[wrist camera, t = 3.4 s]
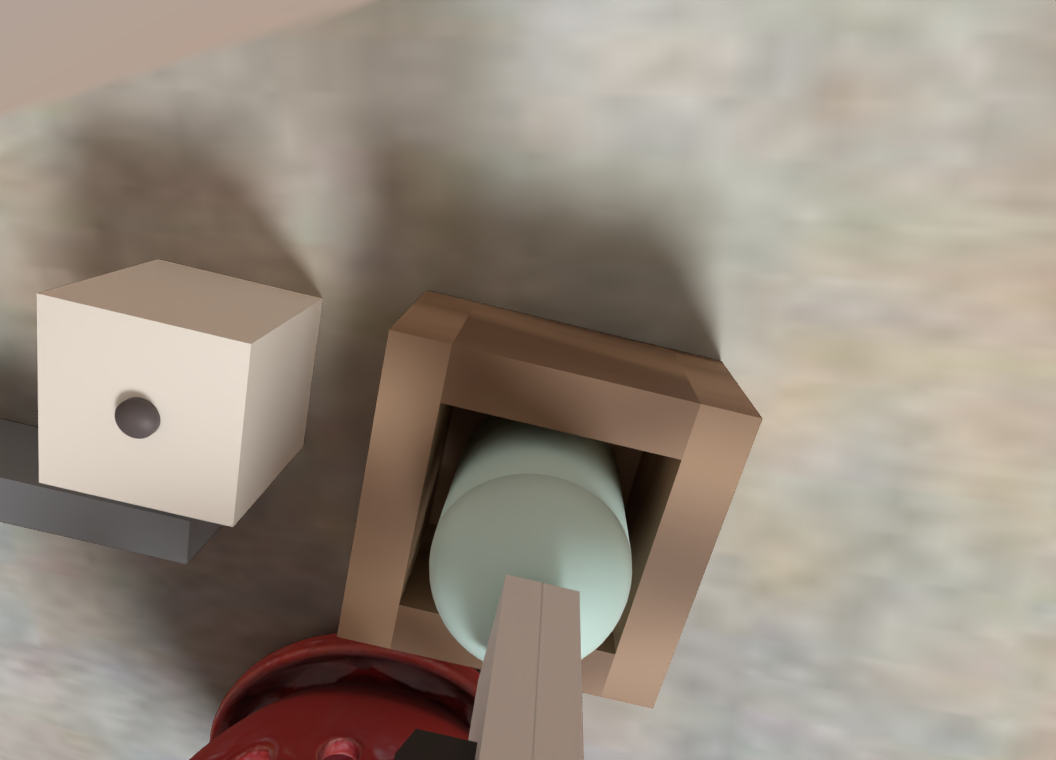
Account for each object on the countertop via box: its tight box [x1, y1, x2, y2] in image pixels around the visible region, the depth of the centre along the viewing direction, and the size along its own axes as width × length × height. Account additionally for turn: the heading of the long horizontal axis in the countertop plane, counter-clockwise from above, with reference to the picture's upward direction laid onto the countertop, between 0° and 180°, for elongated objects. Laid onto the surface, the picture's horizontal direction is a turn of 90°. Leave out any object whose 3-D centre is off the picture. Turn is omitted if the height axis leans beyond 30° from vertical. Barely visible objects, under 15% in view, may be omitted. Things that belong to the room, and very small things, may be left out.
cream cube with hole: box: [37, 259, 323, 527], centre depth 19 cm, size 5×5×5 cm
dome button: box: [429, 415, 632, 661], centre depth 17 cm, size 5×5×7 cm
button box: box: [337, 290, 762, 708], centre depth 20 cm, size 9×9×4 cm
